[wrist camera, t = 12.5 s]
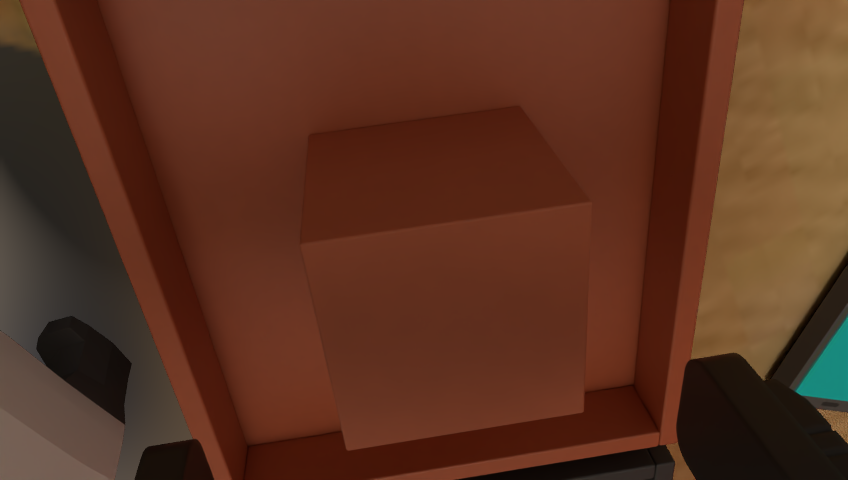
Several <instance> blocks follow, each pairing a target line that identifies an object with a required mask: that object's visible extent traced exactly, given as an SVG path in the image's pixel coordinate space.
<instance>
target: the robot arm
mask: <svg viewBox="0 0 848 480" xmlns="http://www.w3.org/2000/svg"><path fill="white" fill-rule="evenodd" d="M676 433H677V440H678V444H679V447H680V451H681V453H682V456H683V458H684V460H685V462H686V464H687V465H688V467H689V469H690V470H691V472H692V474H693V475H694V477H695V479H696V480H848V444H847V443H846V442H845V441H844V439H843V438H842V437H841V436H840V435H839V434H838V433H837V432H836V431H832V429H831V425H830V424H829V423H828V422H827V420H826V419H825V418H824V417H823V416H822V415H821V414H820V413H819V412H818V410H817V409H816V408H815V407H814V406H813V405H812V404H811V403H810V402H809V400H808V399H806V398H805V397H803V396H801V395H800V394H798V393H797V392H795V391H794V390H792V389H790V388H789V387H787V386H786V385H784V384H783V383H781V382H779V381H778V380H776V379H772V380H766V381H763V380H762V379H761V378H760V377H759V375H758V374H757V373H756V372H755V371H754V370H753V368H752V367H751V366H750V365H749V364H748V362H747V361H746V360H745V359H744V358H743V357H742V356H740V355H739V354H737V353H729V354H723V355H717V356H711V357H704V358H698V359H692V360H689V361H688V362H687V364H686V366H685V371H684V377H683V383H682V390H681V396H680V403H679V409H678V415H677V422H676ZM135 480H214V477H213V474H212V472H211V469H210V466H209V464H208V461H207V458H206V456H205V453H204V450H203V448H202V445H201V443H200V442H199V441H198V440H197V439H192V440H186V441H180V442H173V443H168V444H161V445H156V446H149V447H147V448H146V449H145V450H144V452H143V454H142V457H141V460H140V463H139V466H138V470H137V473H136V477H135Z"/></svg>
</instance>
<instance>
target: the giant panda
mask: <svg viewBox="0 0 848 480" xmlns="http://www.w3.org/2000/svg"><path fill="white" fill-rule="evenodd" d="M37 351H38V353H39V354H40V356H41V358H42V359H43V361H44V362H45V364H46V366H45V365H44V364H43V363H41V362H40V361H39V360H38V359H36V358H35V357H34V356H33V355H31V354H30V353H29V352H28V351H26V350H25V349H24V348H23V347H21V346H20V345H19V344H17V343H16V342H15V341H14V340H12V339H11V338H10V337H9V336H7V335H6V334H5V333H3V332H2V331H1V330H0V480H115V474H116V470H117V466H118V461H119V456H120V452H121V447H122V443H123V437H124V430H125V413H124V402H125V394H126V389H127V382H128V377H129V373H130V369H131V363H130V361H129V360H128V359H127V358H126V357H125V356H124V355H123V354H122V352H121V351H120V350H119V349H118V348H117V347H116V346H115V345H114V344H113V343H112V342H111V341H109V340H108V339H107V338H105V337H104V336H103V335H101V334H99V333H98V332H97V331H96V330H94V329H93V328H92V327H90V326H89V325H87V324H85V323H83V322H81V321H80V320H78V319H76V318H75V317H72V316H70V317H66V318H62V319H59V320H55V321H52V322H49V323H48V324H47V326H46V327H45V329H44V330H43V332H42V333H41V335H40V336H39V338H38V343H37Z"/></svg>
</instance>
